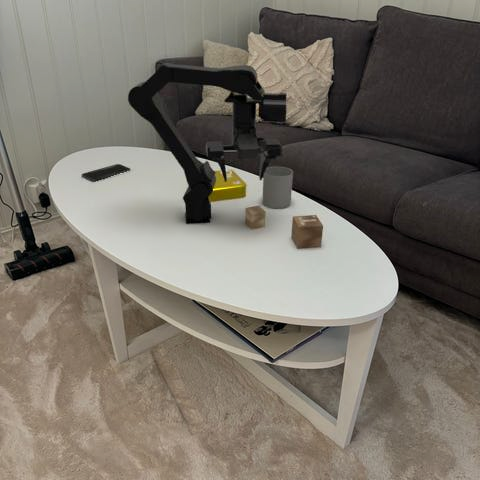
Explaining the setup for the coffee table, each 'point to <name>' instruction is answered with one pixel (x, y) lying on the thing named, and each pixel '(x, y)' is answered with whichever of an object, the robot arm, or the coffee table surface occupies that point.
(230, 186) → the element tile
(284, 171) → the cup
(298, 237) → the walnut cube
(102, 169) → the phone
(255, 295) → the coffee table surface
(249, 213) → the oak block
